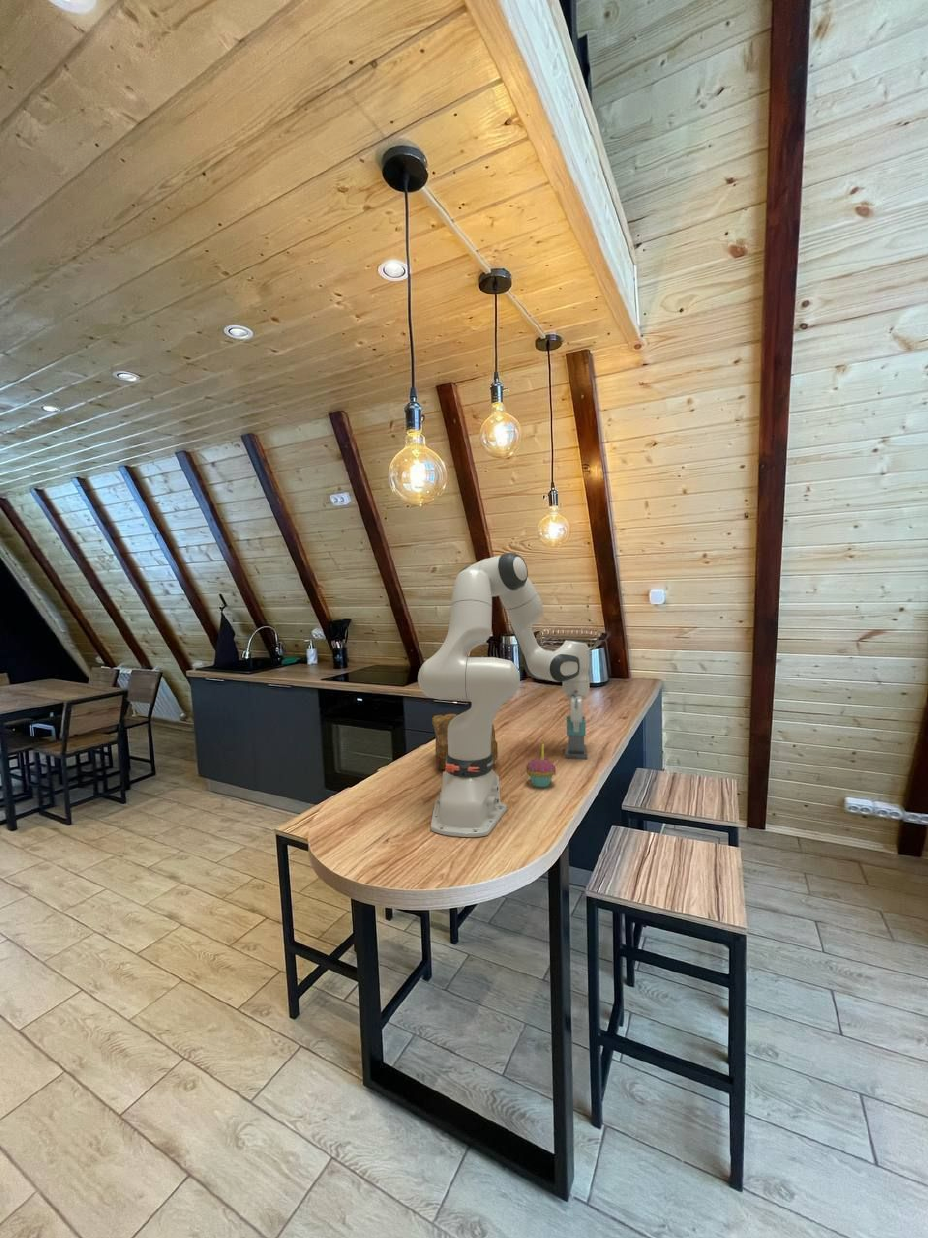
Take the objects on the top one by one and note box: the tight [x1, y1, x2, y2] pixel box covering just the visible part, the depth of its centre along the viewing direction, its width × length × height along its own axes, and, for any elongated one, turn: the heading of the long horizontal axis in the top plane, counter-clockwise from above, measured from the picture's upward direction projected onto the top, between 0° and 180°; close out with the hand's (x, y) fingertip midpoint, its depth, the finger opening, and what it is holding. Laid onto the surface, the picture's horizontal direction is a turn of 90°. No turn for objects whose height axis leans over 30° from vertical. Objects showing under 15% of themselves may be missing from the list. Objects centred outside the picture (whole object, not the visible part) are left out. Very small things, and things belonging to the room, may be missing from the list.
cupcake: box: [525, 740, 557, 788], centre depth 140 cm, size 9×8×12 cm
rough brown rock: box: [431, 713, 499, 770], centre depth 155 cm, size 23×17×15 cm
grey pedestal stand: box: [564, 736, 588, 760], centre depth 167 cm, size 13×7×12 cm, turn 168°
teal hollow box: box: [566, 715, 587, 737], centre depth 165 cm, size 6×6×5 cm
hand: (576, 728), depth 165 cm, fingers closed on teal hollow box, 6 cm apart
